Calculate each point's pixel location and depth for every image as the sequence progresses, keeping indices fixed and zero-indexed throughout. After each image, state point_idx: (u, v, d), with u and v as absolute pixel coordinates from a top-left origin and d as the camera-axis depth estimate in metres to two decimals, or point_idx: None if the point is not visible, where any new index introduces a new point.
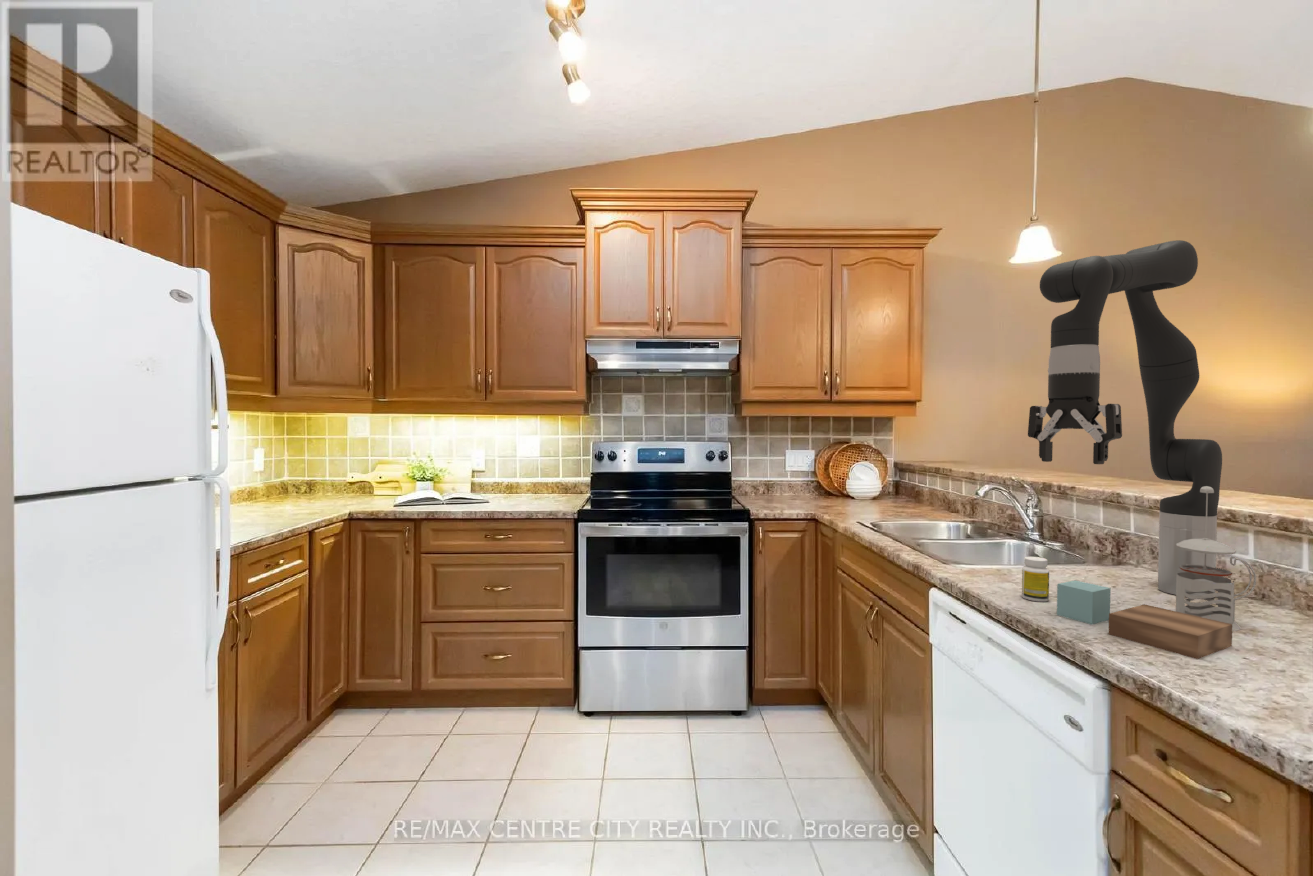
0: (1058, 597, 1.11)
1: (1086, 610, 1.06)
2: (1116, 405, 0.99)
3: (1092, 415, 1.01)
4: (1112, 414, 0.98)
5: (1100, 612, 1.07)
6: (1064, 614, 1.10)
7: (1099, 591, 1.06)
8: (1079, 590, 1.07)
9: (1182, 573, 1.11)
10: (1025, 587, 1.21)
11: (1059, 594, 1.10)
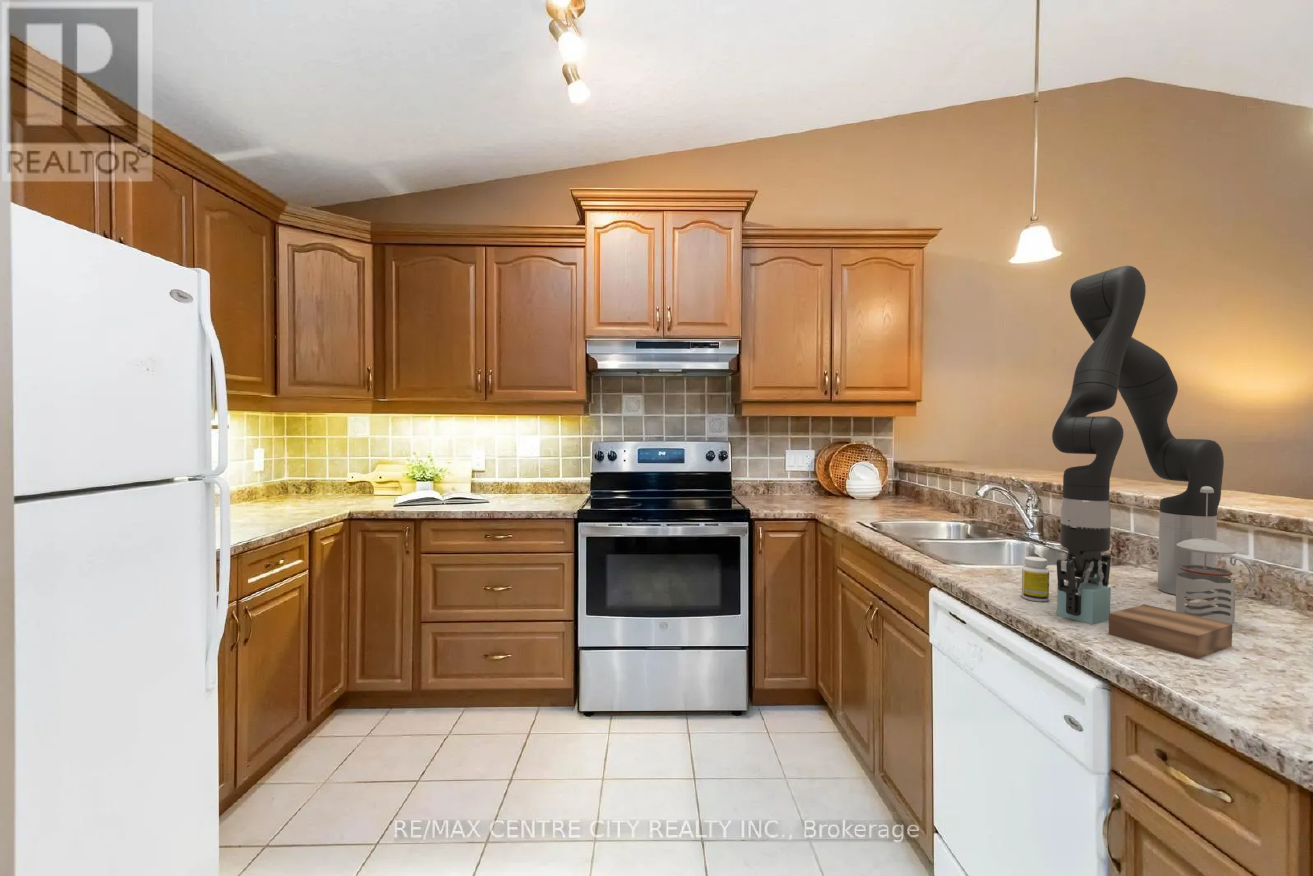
0: (1058, 597, 1.11)
1: (1087, 610, 1.06)
2: None
3: None
4: (1109, 565, 1.11)
5: (1100, 612, 1.07)
6: (1064, 614, 1.10)
7: (1099, 591, 1.06)
8: None
9: (1182, 573, 1.11)
10: (1025, 587, 1.21)
11: (1060, 593, 1.10)
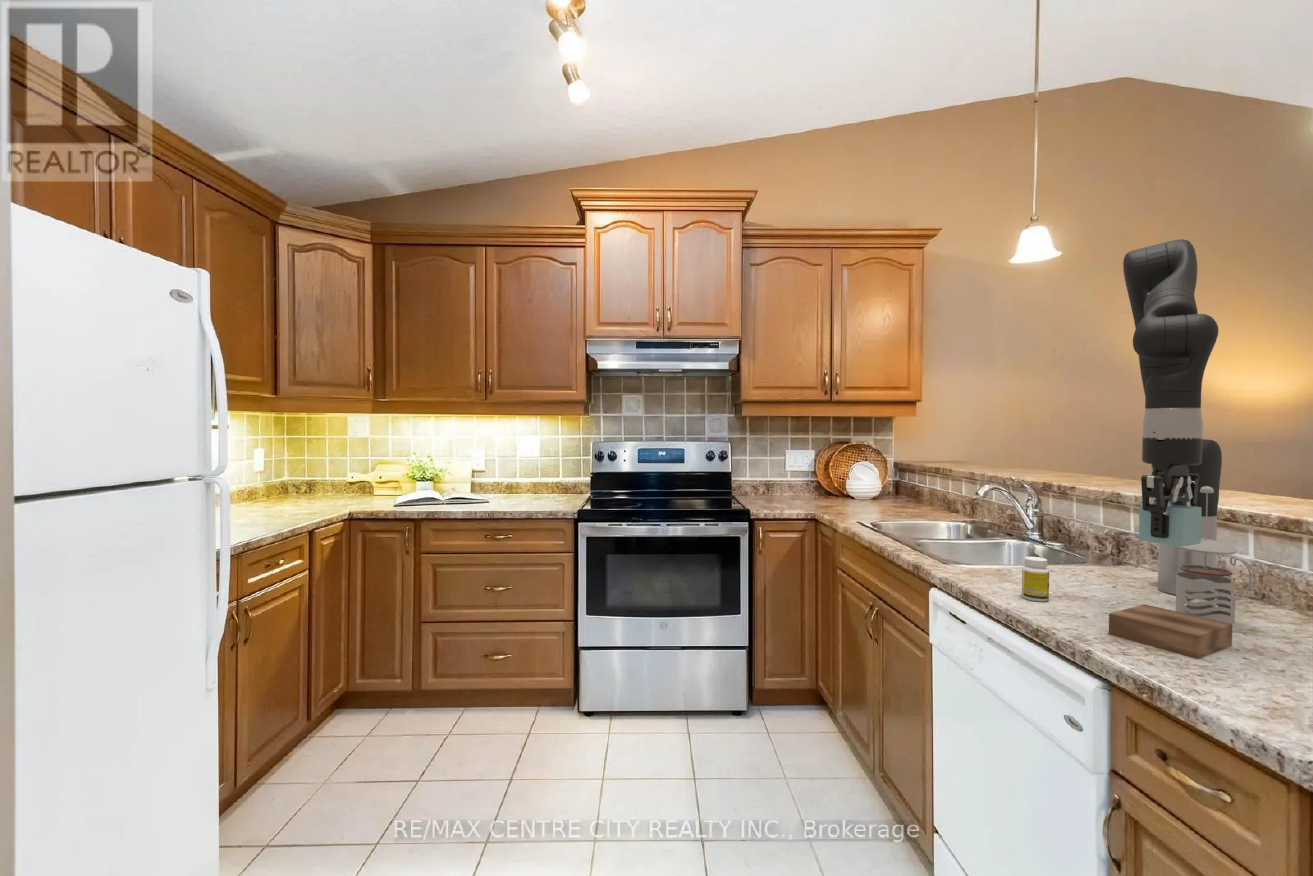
0: (1140, 519, 0.99)
1: (1176, 531, 0.95)
2: None
3: None
4: (1197, 484, 1.00)
5: (1191, 533, 0.95)
6: (1148, 538, 0.98)
7: (1190, 509, 0.95)
8: None
9: (1182, 573, 1.11)
10: (1025, 587, 1.21)
11: (1142, 515, 0.99)
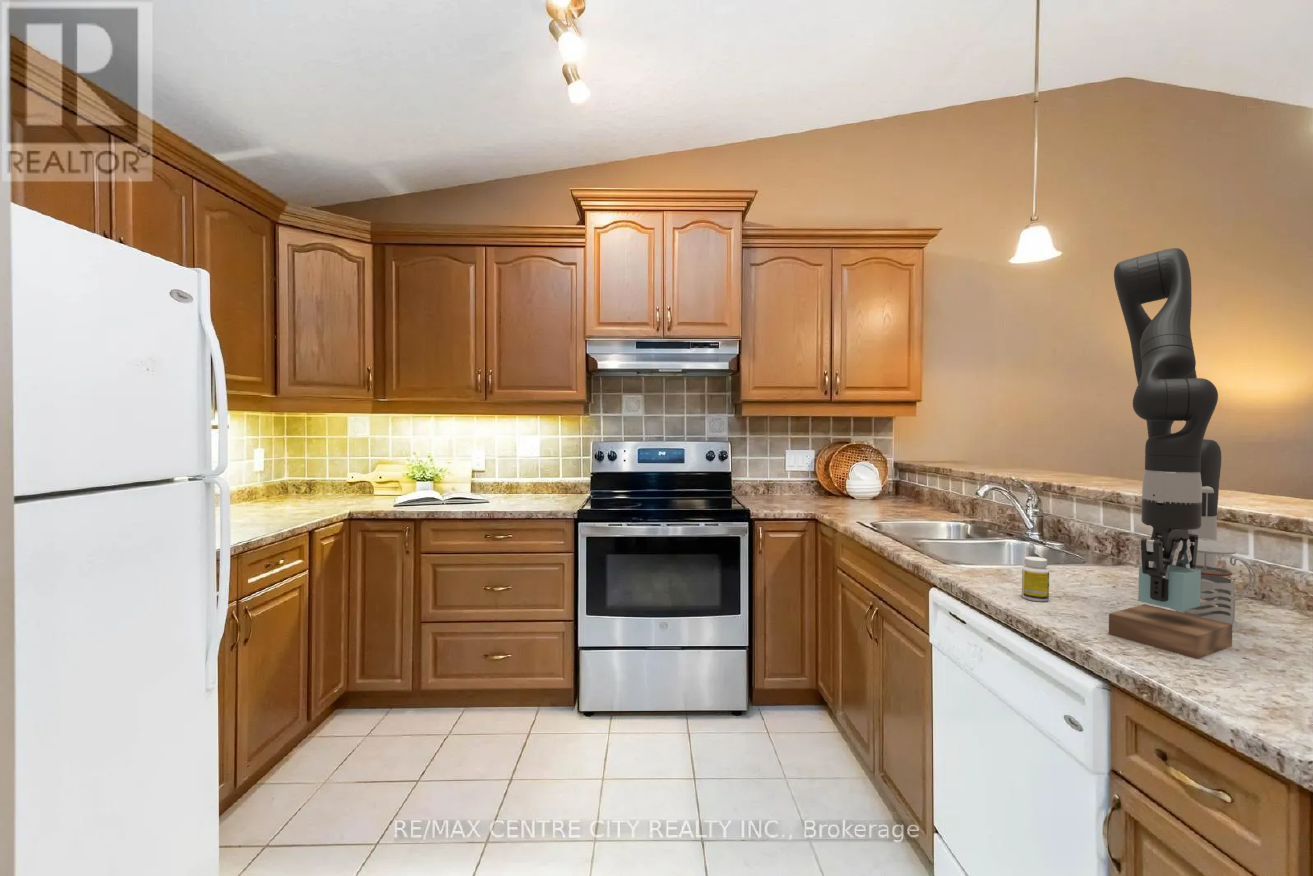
0: (1140, 581, 0.99)
1: (1176, 595, 0.95)
2: (1188, 535, 1.01)
3: None
4: (1196, 545, 1.00)
5: (1190, 597, 0.95)
6: (1147, 600, 0.98)
7: (1189, 573, 0.95)
8: None
9: None
10: (1025, 587, 1.21)
11: (1142, 577, 0.99)
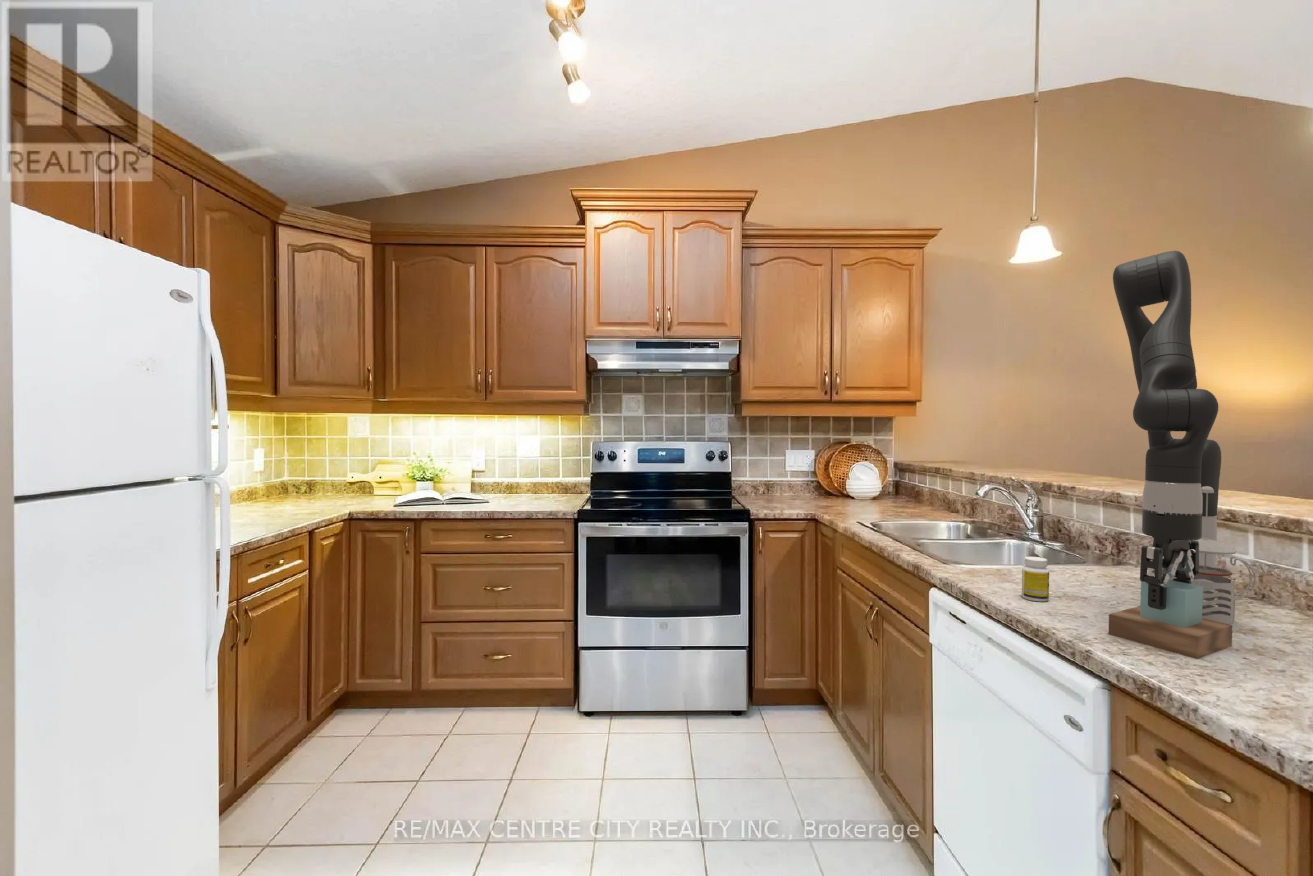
0: (1142, 597, 0.99)
1: (1178, 611, 0.95)
2: None
3: None
4: (1198, 551, 1.00)
5: (1193, 614, 0.95)
6: (1149, 616, 0.98)
7: (1192, 590, 0.95)
8: (1168, 589, 0.96)
9: None
10: (1025, 587, 1.21)
11: (1144, 593, 0.99)
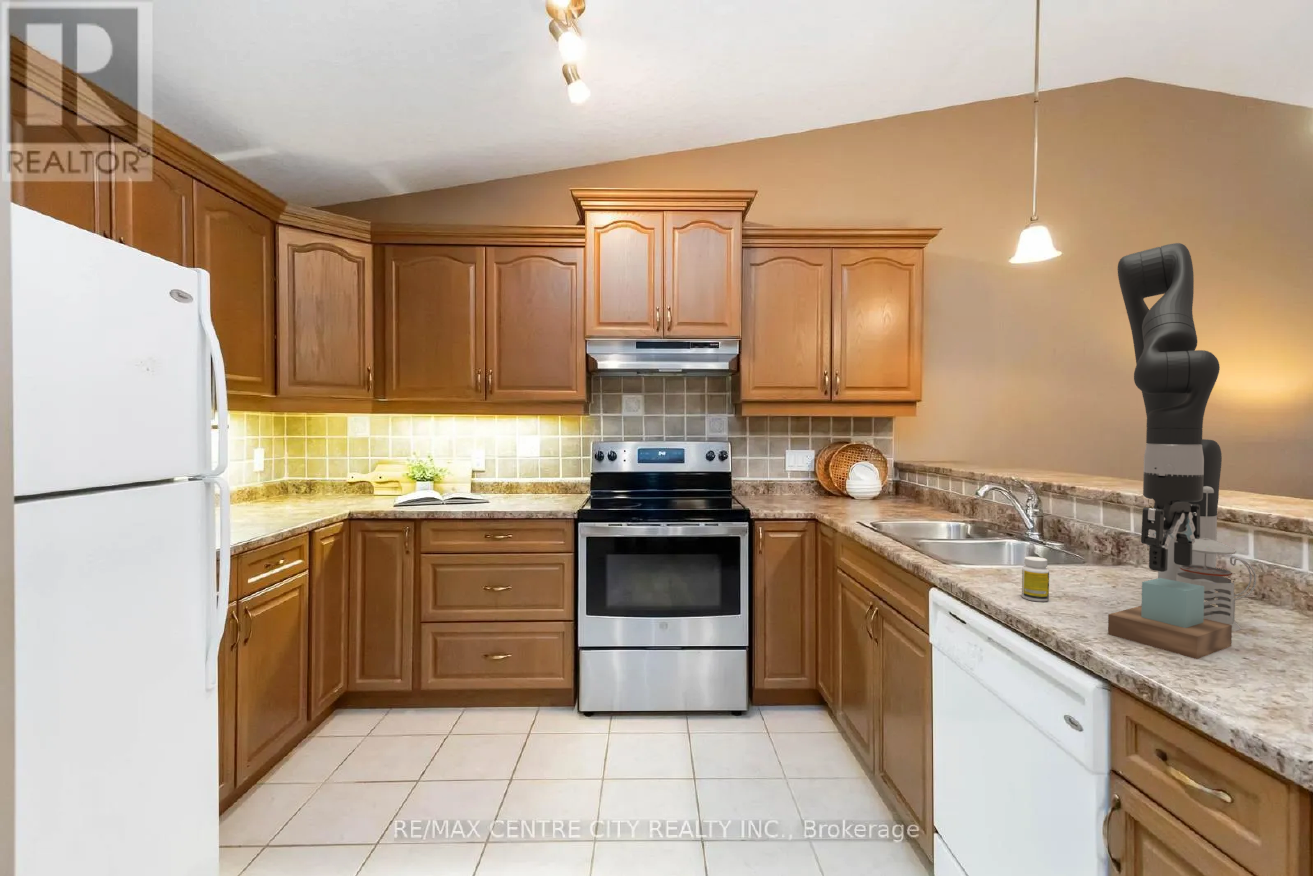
0: (1143, 597, 0.99)
1: (1179, 612, 0.95)
2: None
3: None
4: (1199, 515, 1.00)
5: (1194, 614, 0.95)
6: (1151, 616, 0.98)
7: (1193, 590, 0.95)
8: (1169, 589, 0.96)
9: (1182, 573, 1.11)
10: (1025, 587, 1.21)
11: (1145, 593, 0.99)
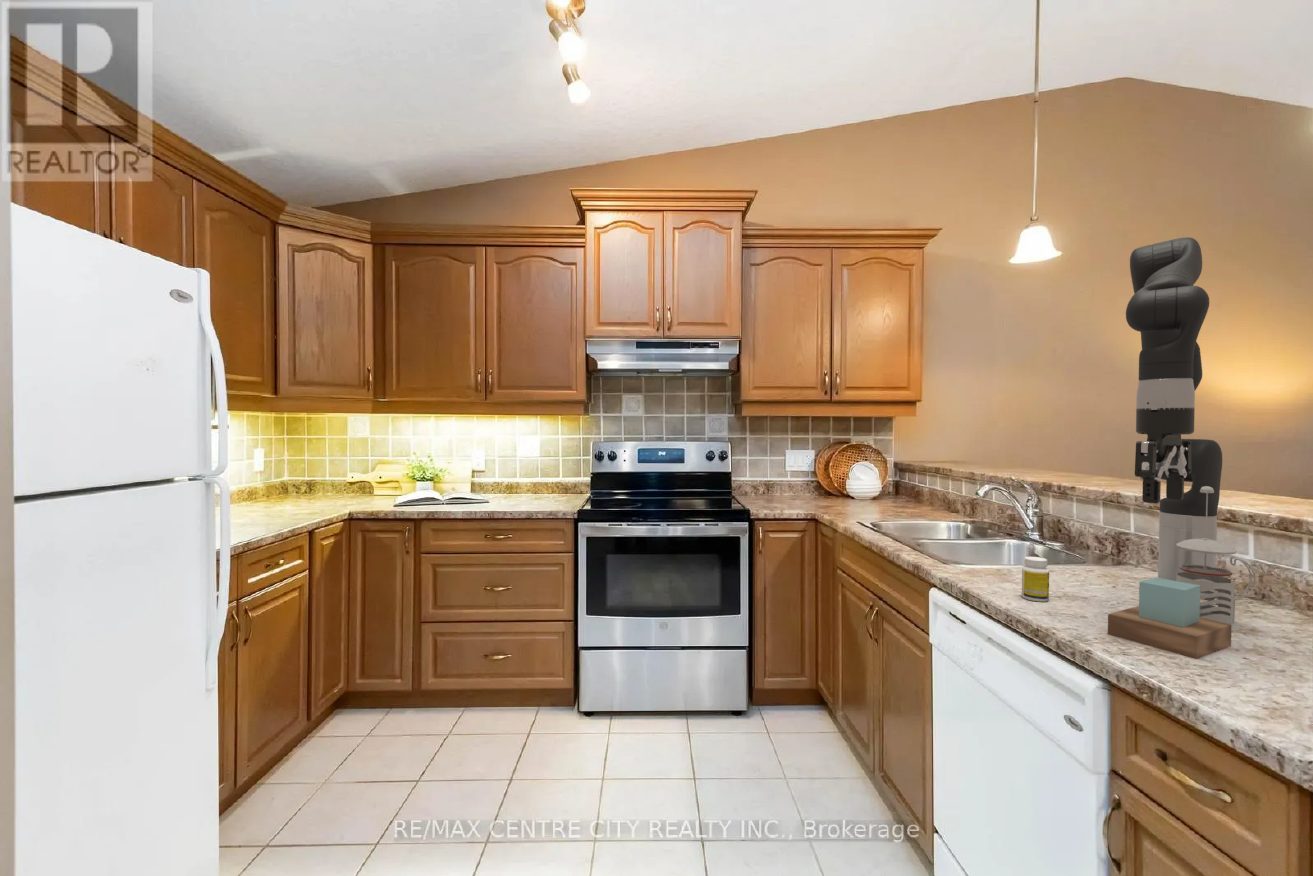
0: (1140, 596, 0.99)
1: (1177, 611, 0.95)
2: None
3: None
4: (1190, 450, 1.02)
5: (1191, 613, 0.95)
6: (1148, 615, 0.98)
7: (1190, 589, 0.95)
8: (1167, 588, 0.96)
9: (1182, 573, 1.11)
10: (1025, 587, 1.21)
11: (1142, 592, 0.99)
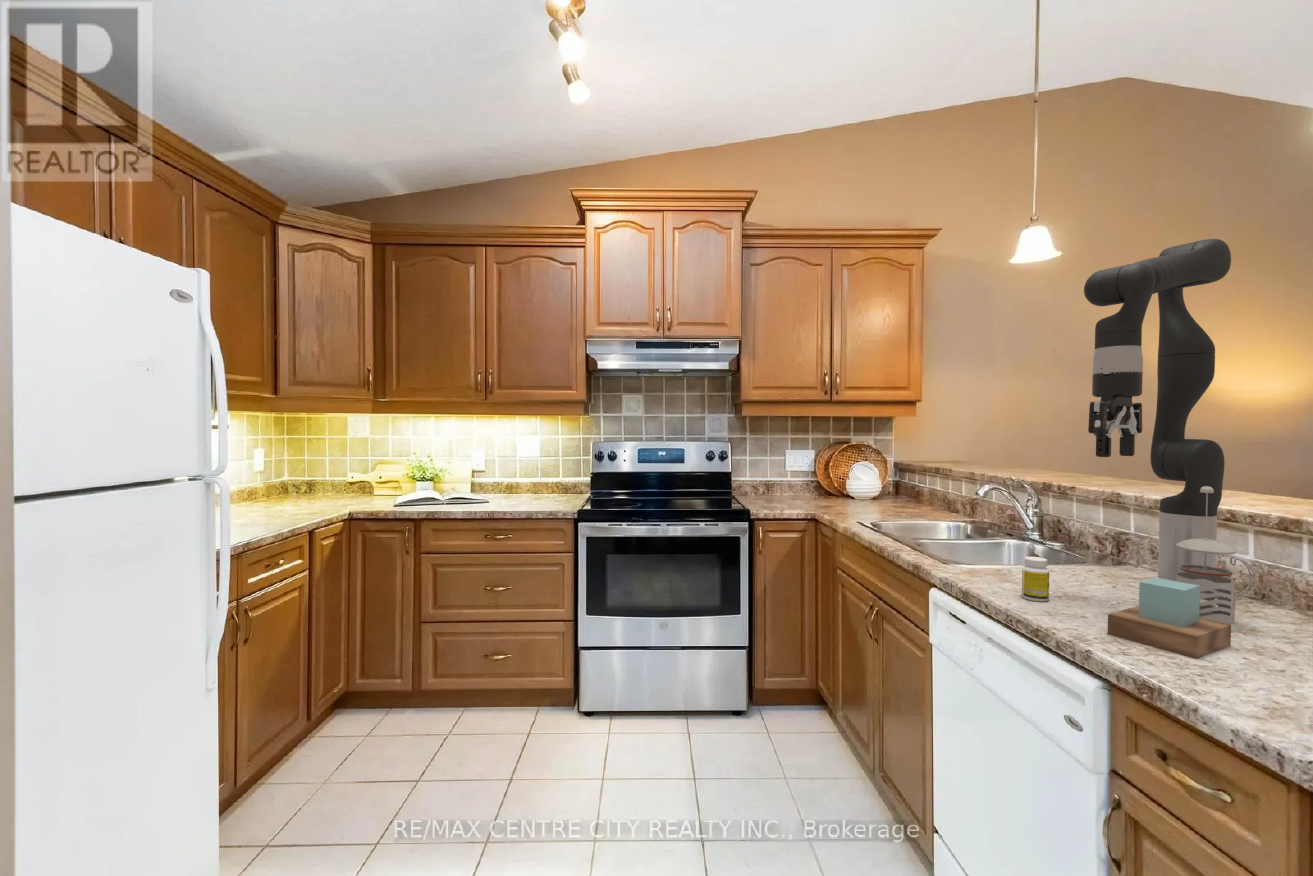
0: (1140, 597, 0.99)
1: (1177, 611, 0.95)
2: None
3: None
4: (1141, 412, 1.14)
5: (1191, 613, 0.95)
6: (1148, 616, 0.98)
7: (1190, 589, 0.95)
8: (1167, 588, 0.96)
9: (1182, 573, 1.11)
10: (1025, 587, 1.21)
11: (1142, 593, 0.99)
